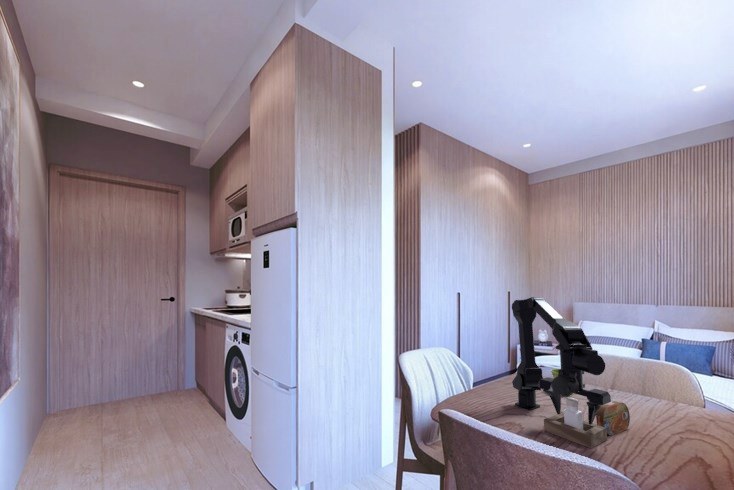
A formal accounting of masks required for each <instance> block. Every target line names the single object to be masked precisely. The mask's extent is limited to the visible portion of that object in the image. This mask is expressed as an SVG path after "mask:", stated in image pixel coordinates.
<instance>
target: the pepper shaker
mask: <svg viewBox="0 0 734 490" xmlns="http://www.w3.org/2000/svg"><path fill="white" fill-rule="evenodd" d="M565 400H566V401H565V403H566V408H564V410H563V414H564V424H567V425H569V426H572V427H575V428H578V429H581V430H583V421H584V418H583V412H582V410H579V405H580V404H579V399H577V398H573V397H566V399H565Z"/></svg>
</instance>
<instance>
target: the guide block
mask: <svg viewBox="0 0 734 490" xmlns="http://www.w3.org/2000/svg"><path fill="white" fill-rule="evenodd" d="M543 431H544V432H546V433H549V434H552V435H555V436H557V437H559V438H562V439H565V440H568V441H571V442H573V443H574V444H575V443H576V444H577V445H578V444H579V445H581V446H584V447H585V448H589V449H594V448H595V447H597V446H598V445H601V444H603V443H605V442H606V441H607V440H608V434H607V430H606V428H605V427H602V426H599V425H597V423H596V424H595V423H592V424H591V425H589V421H588V420H587V421H586V420H583V430H581V429H578V428H575V427H572V426H569V425H567V424H564V413H562V412H560V414H557V413H556V414H554V415H551V416H549V417H546V418H544V419H543Z"/></svg>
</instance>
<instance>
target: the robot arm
mask: <svg viewBox="0 0 734 490" xmlns="http://www.w3.org/2000/svg"><path fill="white" fill-rule="evenodd" d="M511 310H512V313H513V314H512V315H513V318H514V319H515V320H516V322H517V323H518V325H517V326H518V336H519V350H520V351H519V352H520V363H519V364H518V366H517V368H516V375H515V377H514V378H513V380H512V382H511V383H512V387H513V388H514V389H515V390H517V392H518V393H517V395H518V396H517V399H518V401H517V402H514V404H515V406H518V407H520V408H524V409H527V410H535V409H537V408H540V407H541V405H540V404H538V403H537V398H536V397H537V394H536V391H542V392H544V393H546V395H548V396H549V398H550V400H551V402H552V404H553V408H554V410H555V411H556V415H557V414H560V413H561V411H562V410H561V409H562V397H561V396H563V397H566V398H569V397H571V394H572V393H573V394H575V395H579V396H583V397H586V399H587V400H588V401H586V404H587V407H588V408H587V410H588V411H587V413H588V414H587V415H588V416H587V417H588V420H587V422H589V425H591V424H592V423H593V422H594V420H595V419H596V414H597V411H598V409H599V408H600V406H601V405H604V404H607V403H610V402H612V397H611V395H610V393H609V392H608V391H606V390H602V389H598V388H593V389H590V390H587V389H586V384H585V383H584V380H583V375H585V373H587V374H590V375H593V376H599V375H602V374H603V373H604V372H605V370H606V362H605V361H604V359H603V357H602V356H600V355H599V351H598V350H597V349H593V347H592V345H591V342H590V341H589V339H588V338H587V336H586V333H584V330H583V329H582V327H581V326H579V325H577V324H576V323H574V322H572V321H570V320H568V319H565V318H564V317H563V316H562V315H561V314H559V313H558V311H556V310H555V309H554V308H553V307H552V306H551V305H550V304H549V303H548V302H547V301H546V299H545V298H544V297H543V296H542V297H540V296H539V297H536V296H535V297H534V296H532V297H529V298H525V299H515V300H514V301H513V303H511ZM537 314H538V316H540V317H541V319H542V320H543V321H544V322H545V323H546V324H547V325H548V326H549V327H550V328H551V335H553V338H555V340H556V341H557V343H558V344H557V345H556V346H555V349H556V350H559V359H560V360H559V361H560V368H558V369H559V371H558V377H556V378H555V379H554V377H553V378H552V377H543V369H542V368H541V367H539V365H538V364H537V363H536V353H535V352H536V351H535V339H534V338H535V337H534V329H533V328H534V327H533V323H534V321H535V319H536V317H537ZM593 424H594V423H593Z"/></svg>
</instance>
